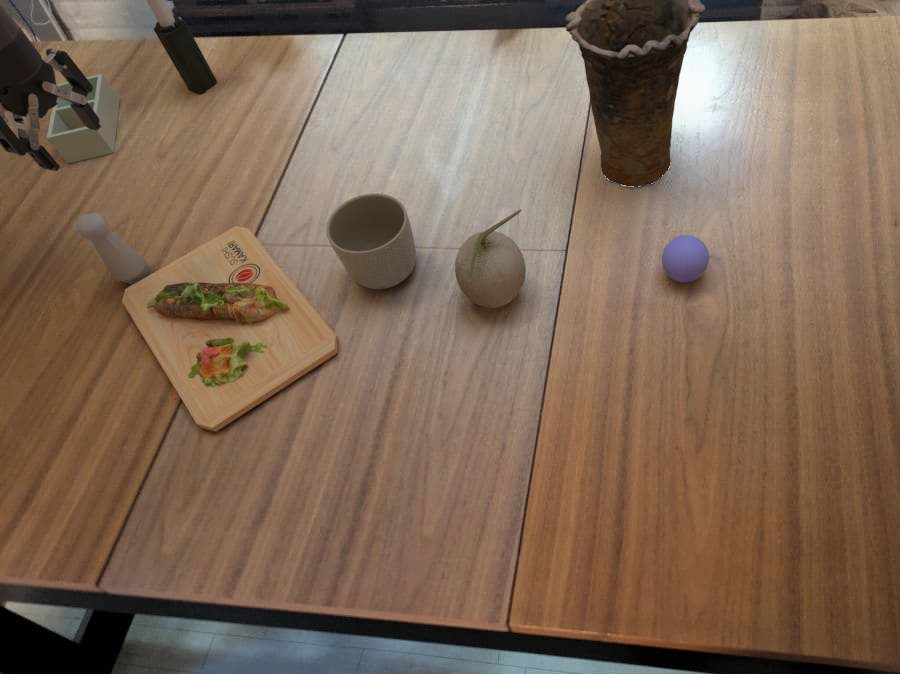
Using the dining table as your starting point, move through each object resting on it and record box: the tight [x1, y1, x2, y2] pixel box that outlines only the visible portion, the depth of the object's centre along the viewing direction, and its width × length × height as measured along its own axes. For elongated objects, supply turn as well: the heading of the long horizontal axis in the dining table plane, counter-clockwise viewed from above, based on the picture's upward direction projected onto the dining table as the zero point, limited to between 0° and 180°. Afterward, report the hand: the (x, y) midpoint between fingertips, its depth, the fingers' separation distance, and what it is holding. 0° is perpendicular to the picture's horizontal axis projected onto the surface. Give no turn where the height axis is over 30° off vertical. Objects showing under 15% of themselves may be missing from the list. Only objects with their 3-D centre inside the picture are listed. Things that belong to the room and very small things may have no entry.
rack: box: [46, 73, 121, 165], centre depth 140 cm, size 9×17×6 cm, turn 14°
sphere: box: [661, 234, 710, 283], centre depth 106 cm, size 7×7×7 cm
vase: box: [564, 0, 706, 187], centre depth 112 cm, size 18×18×27 cm
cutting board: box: [121, 225, 339, 433], centre depth 109 cm, size 35×23×8 cm
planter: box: [325, 192, 417, 290], centre depth 111 cm, size 12×12×11 cm
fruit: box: [454, 208, 527, 309], centre depth 104 cm, size 10×12×15 cm
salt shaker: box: [76, 212, 149, 285], centre depth 115 cm, size 6×6×13 cm
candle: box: [145, 0, 218, 95], centre depth 136 cm, size 5×5×25 cm
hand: (74, 148), depth 97 cm, fingers open, 8 cm apart
